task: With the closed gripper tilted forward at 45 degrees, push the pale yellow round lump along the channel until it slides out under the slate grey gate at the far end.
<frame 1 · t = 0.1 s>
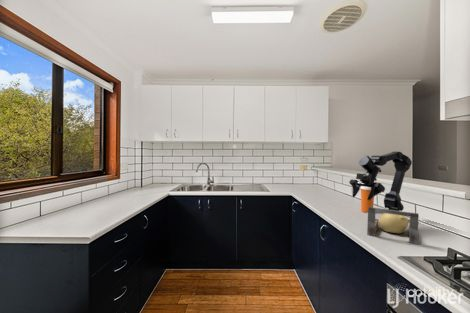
hand: (360, 198, 139), 15 cm above the countertop, tool tilted 35°, fingers open, 9 cm apart
shaker bottle: (366, 211, 171), on the countertop
pale yellow round lump: (392, 232, 128), on the countertop
channel: (392, 233, 125), on the countertop
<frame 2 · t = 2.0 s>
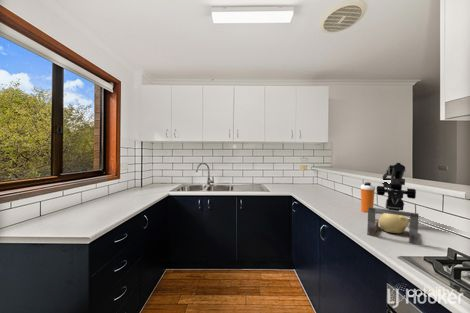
hand: (394, 204, 137), 13 cm above the countertop, tool tilted 45°, fingers closed
nothing on the countertop moved.
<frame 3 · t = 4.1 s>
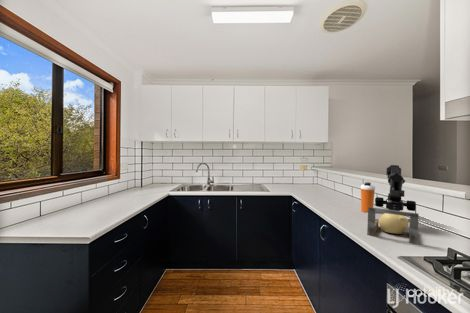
hand: (393, 216, 132), 7 cm above the countertop, tool tilted 45°, fingers closed
pale yellow round lump: (392, 232, 127), on the countertop, touching gripper
everything else where it was.
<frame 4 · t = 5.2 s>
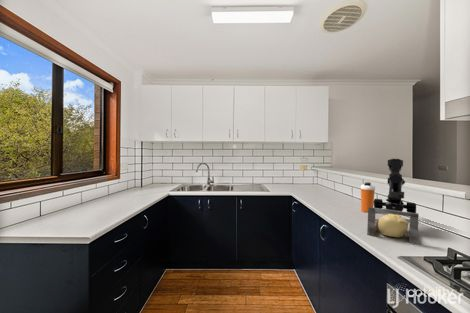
hand: (393, 219, 127), 7 cm above the countertop, tool tilted 45°, fingers closed
pale yellow round lump: (392, 236, 122), on the countertop, touching gripper
everything else where it was.
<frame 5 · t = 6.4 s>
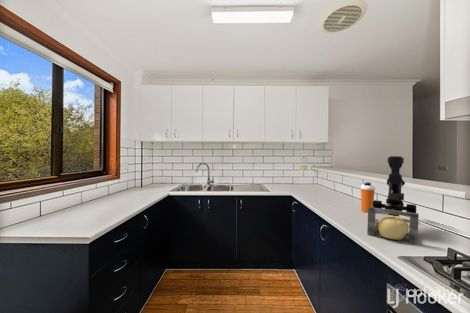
hand: (392, 221, 123), 7 cm above the countertop, tool tilted 45°, fingers closed
pale yellow round lump: (392, 238, 118), on the countertop, touching gripper
everything else where it was.
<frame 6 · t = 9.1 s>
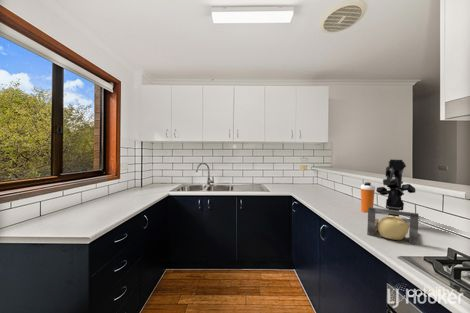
hand: (393, 203, 138), 12 cm above the countertop, tool tilted 30°, fingers closed
pale yellow round lump: (392, 238, 118), on the countertop
everything else where it was.
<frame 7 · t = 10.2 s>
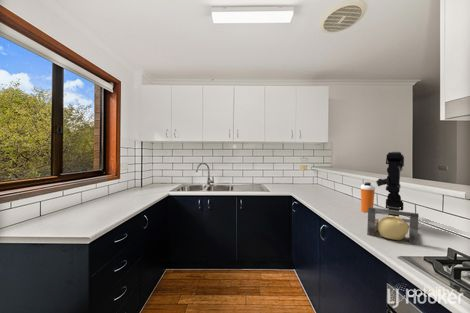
hand: (392, 201, 140), 13 cm above the countertop, tool pointing down, fingers closed
nothing on the countertop moved.
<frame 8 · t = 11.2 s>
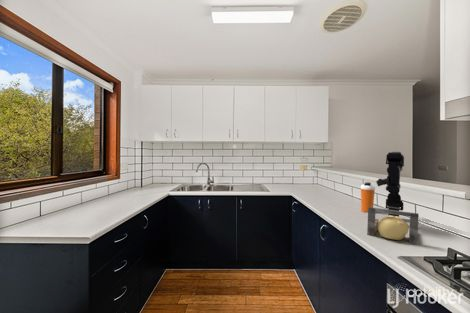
hand: (392, 201, 140), 13 cm above the countertop, tool pointing down, fingers closed
nothing on the countertop moved.
at the end: pale yellow round lump inside the target area (2.5 cm from its centre), on the countertop; pale yellow round lump tilted 0°; the gripper is holding nothing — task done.
